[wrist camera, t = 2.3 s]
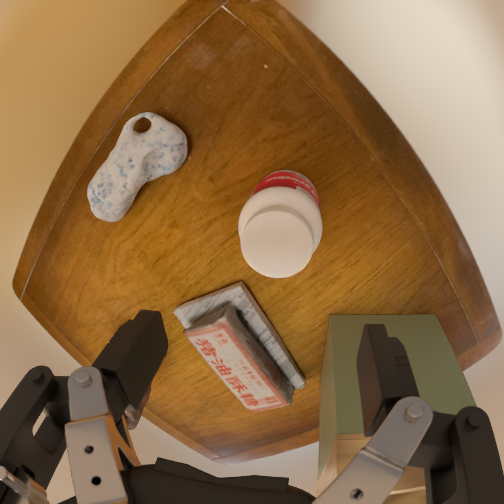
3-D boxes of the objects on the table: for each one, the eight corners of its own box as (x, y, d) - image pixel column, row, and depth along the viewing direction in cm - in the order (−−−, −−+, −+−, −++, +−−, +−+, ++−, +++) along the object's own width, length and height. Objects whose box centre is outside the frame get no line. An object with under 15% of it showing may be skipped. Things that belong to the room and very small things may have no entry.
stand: (434, 313, 32) (480, 416, 17) (410, 377, 37) (432, 472, 22) (329, 314, 34) (336, 433, 20) (319, 379, 39) (317, 483, 24)
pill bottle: (328, 185, 28) (343, 225, 18) (301, 239, 31) (299, 301, 21) (268, 158, 28) (248, 183, 18) (244, 214, 30) (216, 266, 21)
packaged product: (307, 406, 35) (240, 419, 38) (308, 379, 39) (246, 394, 42) (234, 302, 29) (160, 329, 32) (243, 277, 33) (174, 305, 37)
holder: (480, 416, 17) (496, 465, 12) (432, 472, 22) (437, 511, 17) (336, 433, 20) (336, 496, 15) (317, 483, 24) (314, 527, 19)
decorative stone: (134, 232, 33) (111, 251, 29) (95, 195, 32) (68, 209, 27) (203, 142, 28) (184, 148, 23) (155, 101, 27) (129, 101, 22)
